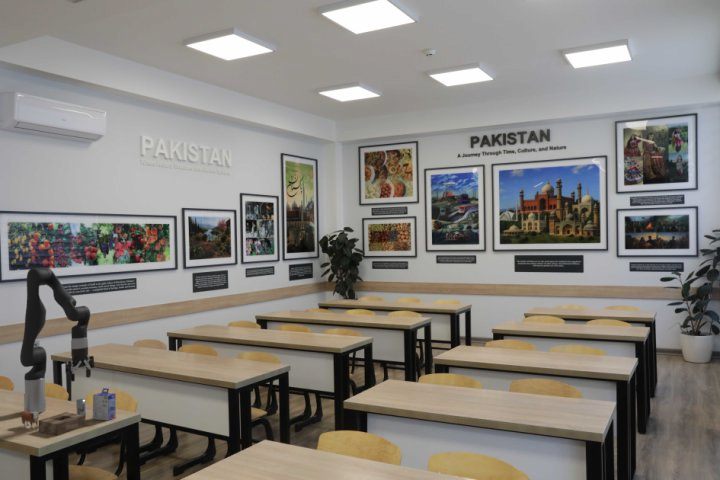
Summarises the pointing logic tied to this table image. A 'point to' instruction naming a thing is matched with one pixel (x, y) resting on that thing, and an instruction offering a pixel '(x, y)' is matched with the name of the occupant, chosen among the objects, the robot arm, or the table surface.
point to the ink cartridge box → (104, 405)
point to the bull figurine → (30, 418)
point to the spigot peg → (81, 407)
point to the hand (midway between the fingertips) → (80, 379)
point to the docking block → (62, 423)
